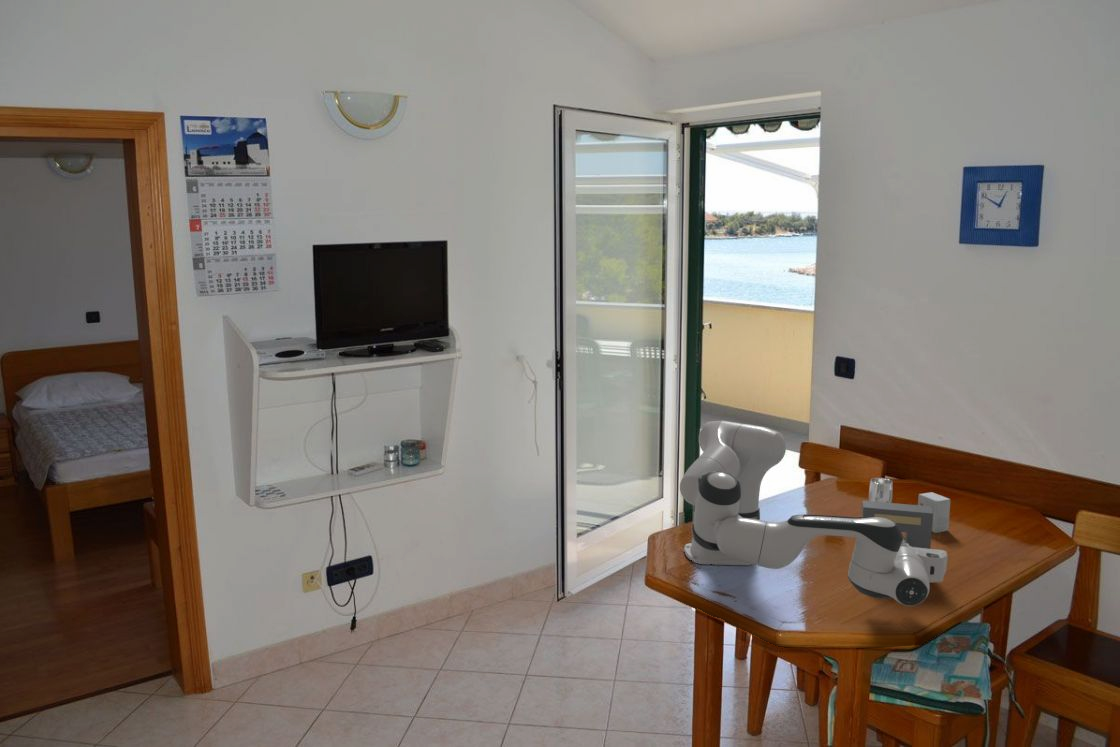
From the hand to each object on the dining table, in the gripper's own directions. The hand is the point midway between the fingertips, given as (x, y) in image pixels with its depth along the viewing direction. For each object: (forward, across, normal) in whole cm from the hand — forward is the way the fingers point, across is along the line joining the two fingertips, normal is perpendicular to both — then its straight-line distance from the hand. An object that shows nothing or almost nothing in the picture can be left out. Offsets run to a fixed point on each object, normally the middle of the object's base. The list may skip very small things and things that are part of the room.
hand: (902, 545), depth 232 cm
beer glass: (+51, -3, -14) cm, 53 cm away
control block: (+17, 0, -13) cm, 22 cm away
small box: (+54, +13, -14) cm, 58 cm away
